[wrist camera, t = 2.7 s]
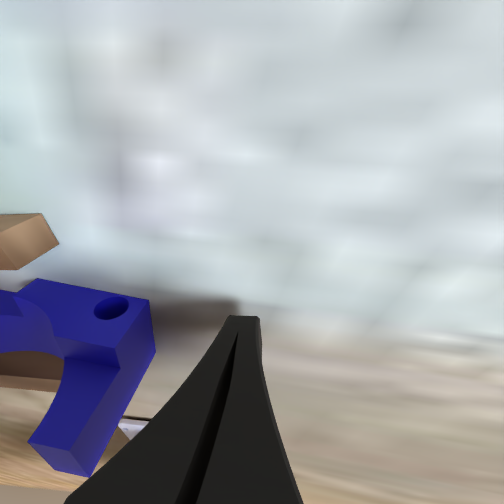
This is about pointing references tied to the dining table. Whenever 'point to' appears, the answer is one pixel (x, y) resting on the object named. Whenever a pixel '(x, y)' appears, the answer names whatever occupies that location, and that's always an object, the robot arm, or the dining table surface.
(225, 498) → the robot arm
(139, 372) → the cable clip
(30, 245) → the guide
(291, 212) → the dining table surface
